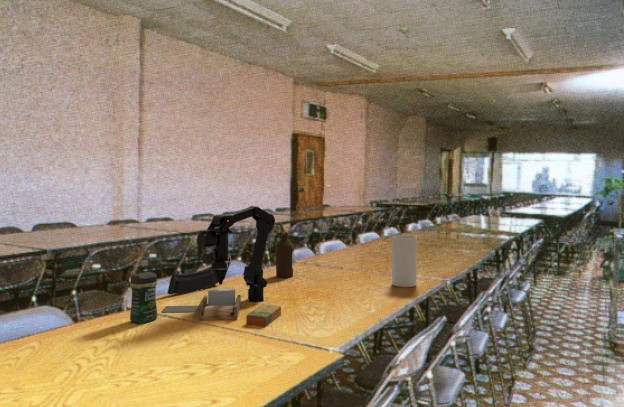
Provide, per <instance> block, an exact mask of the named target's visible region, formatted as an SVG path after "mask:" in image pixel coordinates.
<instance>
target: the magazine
mask: <svg viewBox="0 0 624 407" xmlns="http://www.w3.org/2000/svg"><path fill="white" fill-rule="evenodd" d="M168 283H169V284H168V289H167V293H166V294H168V295H177V294H179V295H181V294H189V292H190V293H194V292H193V291H195V292H197V291H196V290H199V291H202V290H201V289H203V290H205V289H208V288H210V287H216V285H217V284H219V281H218V277H217V274H216V272H215V271H213V270H212V269H211V266H209V267H206V268H204V269H201V270H198V271H193V272H187V273H175V272H173V273H172V274H171V277H170V280H169V282H168Z"/></svg>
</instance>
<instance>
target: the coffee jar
mask: <svg viewBox="0 0 624 407" xmlns="http://www.w3.org/2000/svg"><path fill="white" fill-rule="evenodd" d="M157 277H158V276H157V274H156V272H152V271H146V272H139V273H134V274H131V276H130V281H129V286H130V288H131V304H130V313H129V315H130V316H129V319H130V322H132V323H134V324H145V323H149V322H152V321H155V320H157V318H158V309H157V298H156V288H157V287H156V286H157V285H158V279H157Z"/></svg>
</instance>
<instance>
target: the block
mask: <svg viewBox="0 0 624 407" xmlns="http://www.w3.org/2000/svg"><path fill="white" fill-rule="evenodd" d="M235 302H236V289H235V288H226V289H225V288H224V289H221V288H220V289H219V288H218V289H216V288H214V289H213V288H212V289H208V291H207V304H208V306H235Z"/></svg>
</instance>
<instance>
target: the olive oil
mask: <svg viewBox="0 0 624 407" xmlns="http://www.w3.org/2000/svg"><path fill="white" fill-rule="evenodd" d="M288 233H289V232H288V231H282V232H281V239H280V240H279V241H278V242H277V243H276V245H275V247H274V248H275V249H274V250H275V252H274V254H275V276H276V277H277V278H278V279H279V278H280V279H288V278H289V279H290V278H292V277H294V262H295V246H294V244H293V243H292V242H291V241H290V240H289V239H288V236H289V234H288Z"/></svg>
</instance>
